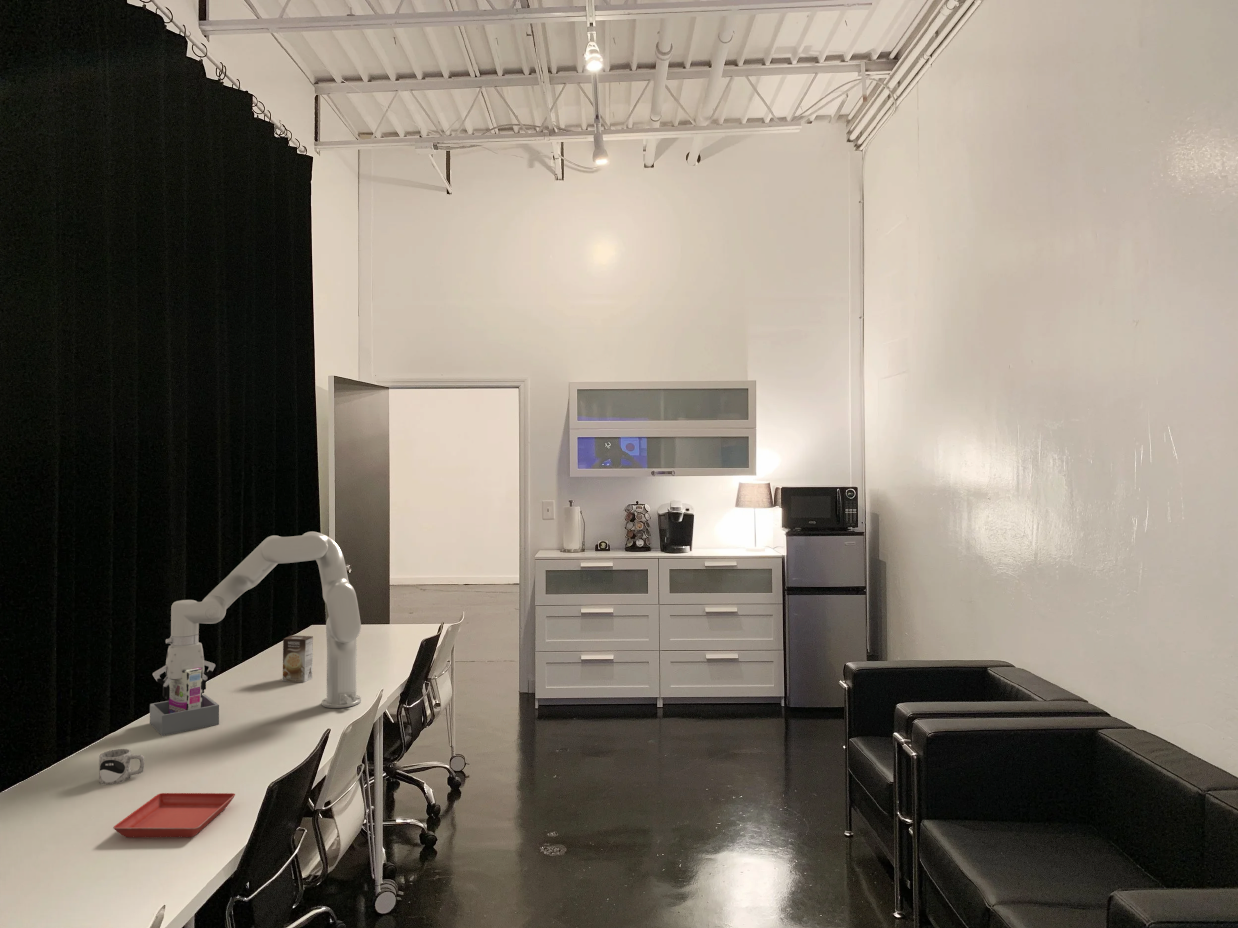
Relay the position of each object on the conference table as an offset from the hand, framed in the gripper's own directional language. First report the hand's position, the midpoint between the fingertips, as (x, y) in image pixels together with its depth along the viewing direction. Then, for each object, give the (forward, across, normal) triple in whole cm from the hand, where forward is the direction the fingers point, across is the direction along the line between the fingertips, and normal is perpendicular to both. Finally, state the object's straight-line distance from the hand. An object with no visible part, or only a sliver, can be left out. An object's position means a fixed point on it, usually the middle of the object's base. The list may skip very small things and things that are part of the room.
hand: (184, 695), depth 241 cm
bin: (+9, 0, 0) cm, 9 cm away
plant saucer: (+10, -19, -74) cm, 77 cm away
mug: (+9, -23, -37) cm, 45 cm away
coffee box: (+9, +45, +28) cm, 54 cm away
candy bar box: (+8, 0, 0) cm, 8 cm away
